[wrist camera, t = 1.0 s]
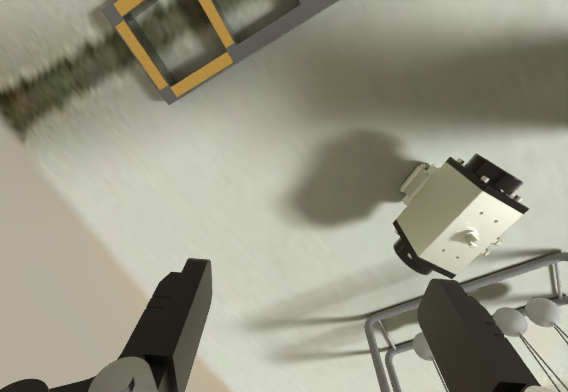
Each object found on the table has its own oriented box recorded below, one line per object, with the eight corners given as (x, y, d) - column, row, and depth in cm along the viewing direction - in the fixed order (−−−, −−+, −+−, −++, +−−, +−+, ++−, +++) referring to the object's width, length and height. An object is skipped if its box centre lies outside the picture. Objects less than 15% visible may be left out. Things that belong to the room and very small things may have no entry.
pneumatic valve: (373, 210, 37) (407, 280, 26) (438, 129, 32) (512, 175, 21) (408, 227, 38) (454, 301, 27) (475, 152, 33) (563, 207, 22)
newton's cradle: (571, 245, 39) (758, 384, 24) (575, 295, 44) (736, 439, 28) (360, 316, 46) (397, 458, 31) (382, 352, 51) (424, 493, 35)
